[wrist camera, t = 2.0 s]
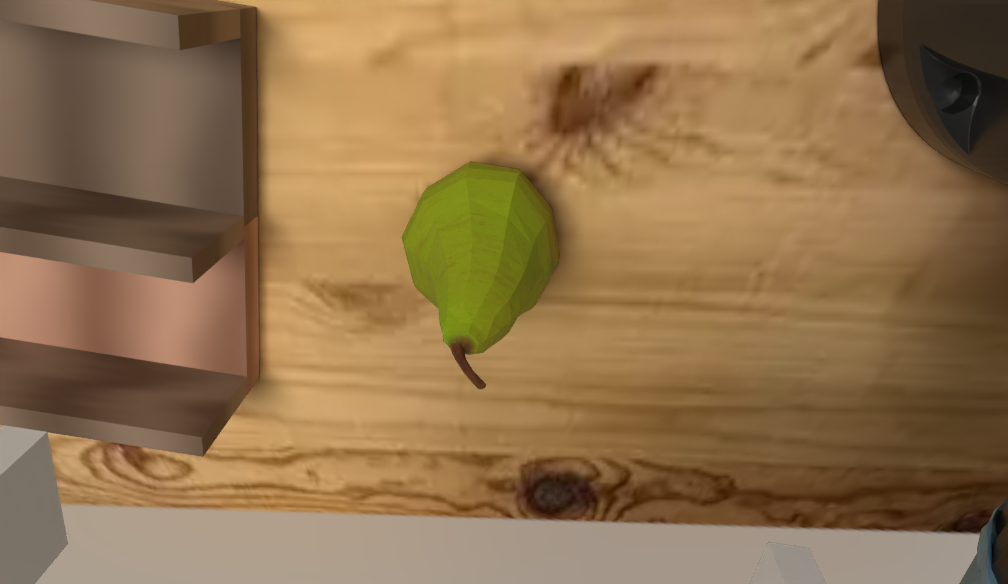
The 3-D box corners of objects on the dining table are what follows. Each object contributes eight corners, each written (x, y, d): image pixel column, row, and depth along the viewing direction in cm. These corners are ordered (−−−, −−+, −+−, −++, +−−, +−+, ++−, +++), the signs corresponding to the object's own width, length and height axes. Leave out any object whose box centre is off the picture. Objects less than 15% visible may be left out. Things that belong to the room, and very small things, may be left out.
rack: (256, 7, 25) (177, 15, 20) (259, 376, 32) (203, 456, 27) (-60, -48, 25) (-227, -54, 19) (16, 338, 32) (-90, 410, 27)
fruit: (421, 138, 27) (341, 245, 16) (570, 157, 27) (591, 277, 16) (412, 278, 30) (339, 449, 19) (548, 295, 30) (552, 477, 19)
